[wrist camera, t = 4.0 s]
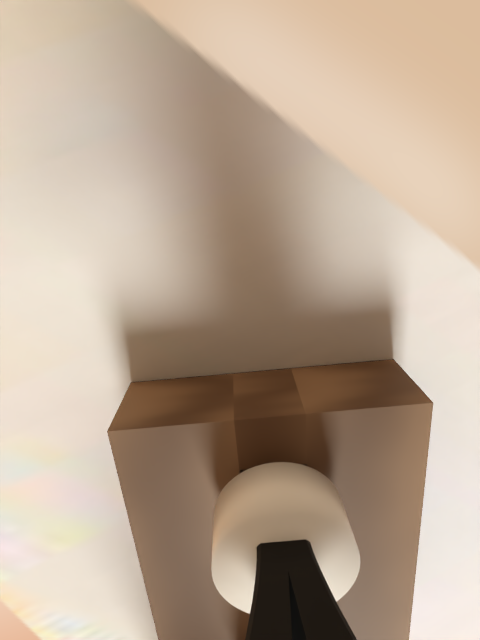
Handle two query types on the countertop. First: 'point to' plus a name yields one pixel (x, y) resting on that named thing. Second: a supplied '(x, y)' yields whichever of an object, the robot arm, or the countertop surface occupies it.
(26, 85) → the countertop surface
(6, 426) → the countertop surface
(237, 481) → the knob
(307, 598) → the robot arm
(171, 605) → the block
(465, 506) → the countertop surface
